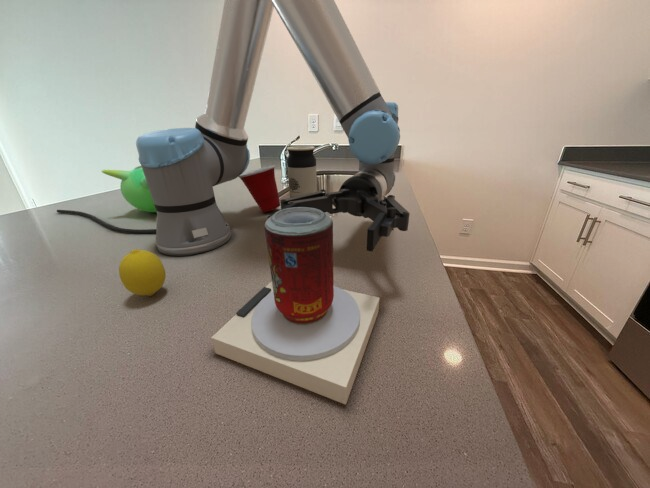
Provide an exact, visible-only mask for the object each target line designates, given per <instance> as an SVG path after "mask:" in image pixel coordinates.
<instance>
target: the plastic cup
mask: <svg viewBox="0 0 650 488" xmlns="http://www.w3.org/2000/svg"><path fill="white" fill-rule="evenodd" d="M275 168H276V165H269V166H264V167H261V168H257V169H252V170H250V171H247V172H244V173H242V174H241V175H240V176H238V177H237V178H239V179H240V181H242V183H243V184H244V186H245V187H246V189H247V190H248V192H249V194H250V195H251V197H252V198H253V200H254V202H255V203H256V204H257V206H258V208H259V209H260V211H262V213H267V212H270V211H274V210H275V209H277V208H279V207H281V203H280V200H281V199H280V197H279V191H278V186H277V180H276V174H275V173H276V171H275Z"/></svg>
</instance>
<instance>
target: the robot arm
mask: <svg viewBox="0 0 650 488" xmlns="http://www.w3.org/2000/svg"><path fill="white" fill-rule="evenodd" d="M274 9H275V11H276V12H277V14H278V16H279V18H280V20H281V22H282V23H283V25H284V27H285V29H286V30H287V32H288V34H289V36H290V37H291V39H292V41H293V42H294V44H295V46H296V48H297V49H298V50H297V51H299V53H300V55H301V57H302V58H303V61H304V62H305V64H306V65H307V67H308V69H309V71H310V72H311V74H312V77H313V78H314V80H315V81H316V83H317V85H318V87H319V88H320V90H321V92H322V94H323V95H324V97H325V99H326V101H327V103H328V104H329V106H330V107H331V109H332V112H333V113H334V115H335V117H336V118H337V120H338V122H339V124H340V126H341V128H342V130H343V132H344V134H345V136H346V137H347V140H348V145H349V149H350V152H351V153H352V155H353V156H354V157H355V158H356V159H357V160H358V172H356V173H355V174H353V175H352V176H350V177H349V178H347V179H345V180H344V182H343V183H342V184H341V186H340V188H339V189H338V191H331V192H327V190H326V189H324V188H321V189H319V190H317V191H316V192H313V193H309V194H305V195H300V196H296V197H291V198H290V197H288V198H282V199H279V200H280V209H279V210H277V211H275V212H273V213H271V214H269V215H267V219H268V218H270V217H271V216H272V215H274V214H275V213H276V212H278V211H280V210H283V209H286V208H292V207H309V208H316V209H319V210H321V211H322V212H324V213H327V214H328V215H333V214H339V213H342V214H345V213H346V214H347V213H348V214H349V215H351V216H354V217H360V218H361V217H362V218H363V219H370V220H371V221H372V223H371V224H370V225H369V227H368V228H367V231H366V232H367V233H366V251H367V252H372V253H373V252H374V251H375V249H376V247H377V245H378V243H379V241H380V240H381V238H382V237H384V238H388V237H390V235H391V233H392V232H393V231H394V229H398V231H401V232H407V231H408V230H409V223H410V213H411V212H409V211H408V210H407V209H406V208H405V207H404V206H403V205H402V204H400V203H399V202H398V201H397V200H396V197H395V195H393V194H389V193H390V192H391V191H392V190H393V188H394V186H395V182H396V172H395V170H394V169H395V152H396V150H397V148H398V146H399V145H400V144H399V143H400V140H401V133H400V132H401V130H400V127H399V125H398V124H399V105H398V104H397V103H396V102H392V101H385V99H384V97H383V96H382V93H381V91H380V89H379V87H378V85H377V83H376V81H375V79H374V77H373V74H372V73H371V71H370V69H369V67H368V65H367V63H366V61H365V59H364V57H363V55H362V53H361V51H360V49H359V47H358V44H357V43H356V41H355V39H354V37H353V35H352V33H351V31H350V29H349V27H348V24H347V23H346V21H345V19H344V17H343V15H342V13H341V12H340V9H339V7H338V5H337V3H336V1H335V0H224V2H223V8H222V14H221V18H220V19H221V20H220V24H219V31H218V37H217V42H216V48H215V54H214V59H213V66H212V70H211V77H210V82H209V89H208V95H207V100H206V104H205V112H204V114H203V113H202V114H201V115H199V116H197V117H196V119H195V125H194V127H180V128H178V127H176V128H175V127H174V128H169V129H161V130H154V131H149V132H146V133H143V134H141V135H140V136H138V137H137V139H136V141H135V147H136V150H137V155H138V162H139V164H140V166H142V169H143V172H144V175H145V178H146V181H147V184H148V187H149V190H150V193H151V196H152V199H153V202H154V205H155V208H156V212H155V213H156V228H148V229H135V228H123V227H118V226H115V225H112V224H110V223H108V222H106V221H104V220H102V219H101V218H98V217H97V216H95V215H94V214H93V215H92V214H90V213H87V212H83V211H78V210H69V209H57V210H56V212H57V213H59V214H70V215H72V214H73V215H79V216H84V217H87V218H90V219H92V220H93V221H95V222H97V223H98V224H100V225H102V226H104V227H106V228H108V229H111V230H113V231H116V232H120V233H126V234H127V233H128V234H156V235H155V245H156V247H157V249H158V251H159V252H160V253H161V254H163V255H168V256H175V257H179V256H181V257H183V256H192V255H197V254H203V253H206V252H209V251H211V250H215V249H217V248H220V247H221V246H223V245H225V244H226V243H227V242H228V241H229V240H230V239H231V237H232V232H231V227H230V225H229V223H228V222H227V221H226V219H225V217H224V214H223V213H222V212H221V209H220V208H219V207H218V204H217V201H216V196H215V191H214V187H215V186H218V185H221V184H224V183H227V182H230V181H234V180H236V179H237V178H239V177H238V176H240V175H241V174H243V173H245V171H246V170H247V169H248V166H249V164H250V160H251V159H250V158H251V155H250V150H249V148H248V141H249V135H248V133H247V131H246V129H245V125H246V122H247V118H248V117H247V116H248V113H249V109H250V105H251V102H252V96H253V93H254V90H255V85H256V82H257V76H258V73H259V68H260V64H261V60H262V56H263V52H264V49H265V44H266V41H267V37H268V32H269V28H270V25H271V21H272V17H273V12H274Z"/></svg>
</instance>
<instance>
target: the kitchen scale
mask: <svg viewBox="0 0 650 488" xmlns="http://www.w3.org/2000/svg"><path fill="white" fill-rule="evenodd" d="M379 310H380V297H379V296H374V295H370V294H365V293H361V292H356V291H351V290H347V289H344V288H341V287H338V286H336V285H334V297H333V302H332V304H331V306H330V308H329V309H328V312H327V314H326V316H325V317H324V318H323V319H322V320H320V321H318V322H316V323H314V324H310V325H296V324H292V323H290V322H288V321H287V320H286V319H285V318H284V317H283V314H282V313H281V312H280V311H279V310H278V309H277V307H276V304H275V300H274V292H273V285H272V280H271V281H270V282H269V283H268V284H267V285H266V286H263V287H262V288H261V289H260V290H259V291H258V292H257V293H256V294H255V295H254V296H253V297H251V298H250V299H249V300H248V301H247V302H246V303H245V304H244V305H243V306H242V307H241V308H239V310H237V312H236V313H235V315H234V316H232V318H230V319H229V320H228V321H227V322H226V323H225V324H224V325H222V327H221V328H220V329H219V330H218V331H216V332H215V333H214V334H213V335H212V336H211V338H210V339H211V342H212V347H213V349H214V352H215V355H218V356H221V357H224V358H226V359H229V360H232V361H234V362H236V363H239V364H242V365H244V366H246V367H248V368H251V369H254V370H257V371H259V372H261V373H264V374H267V375H269V376H272V377H273V378H276V379H279V380H281V381H285V382H286V383H290V384H291V385H294V386H297V387H300V388H302V389H305V390H307V391H310V392H312V393H315V394H317V395H320V396H322V397H325V398H327V399H329V400H332V401H334V402H338V403H340V404H343V405H345V406H346V405H347V403H348V400H349V397H350V394H351V391H352V389H353V387H354V383H355V380H356V377H357V375H358V371H359V369H360V366H361V364H362V360H363V357H364V355H365V352H366V349H367V346H368V343H369V340H370V337H371V334H372V332H373V328H374V326H375V323H376V320H377V318H378V315H379V312H380V311H379Z"/></svg>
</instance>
